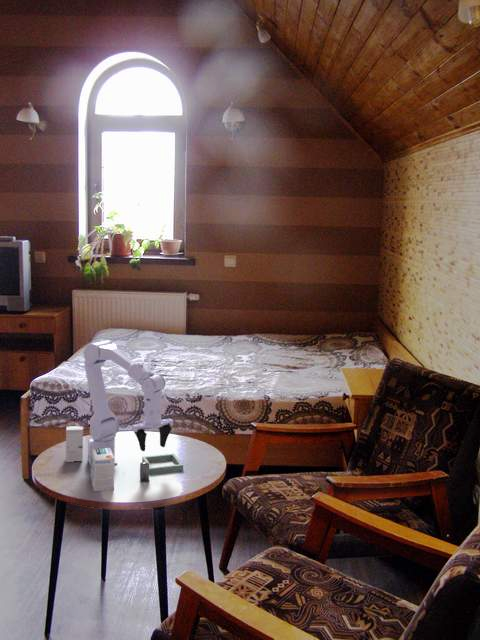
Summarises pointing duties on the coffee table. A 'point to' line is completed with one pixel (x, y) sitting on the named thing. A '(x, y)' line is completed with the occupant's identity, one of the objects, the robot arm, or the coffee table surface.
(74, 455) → the skincare box
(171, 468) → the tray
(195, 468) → the coffee table surface
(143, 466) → the cell
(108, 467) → the light bulb box
